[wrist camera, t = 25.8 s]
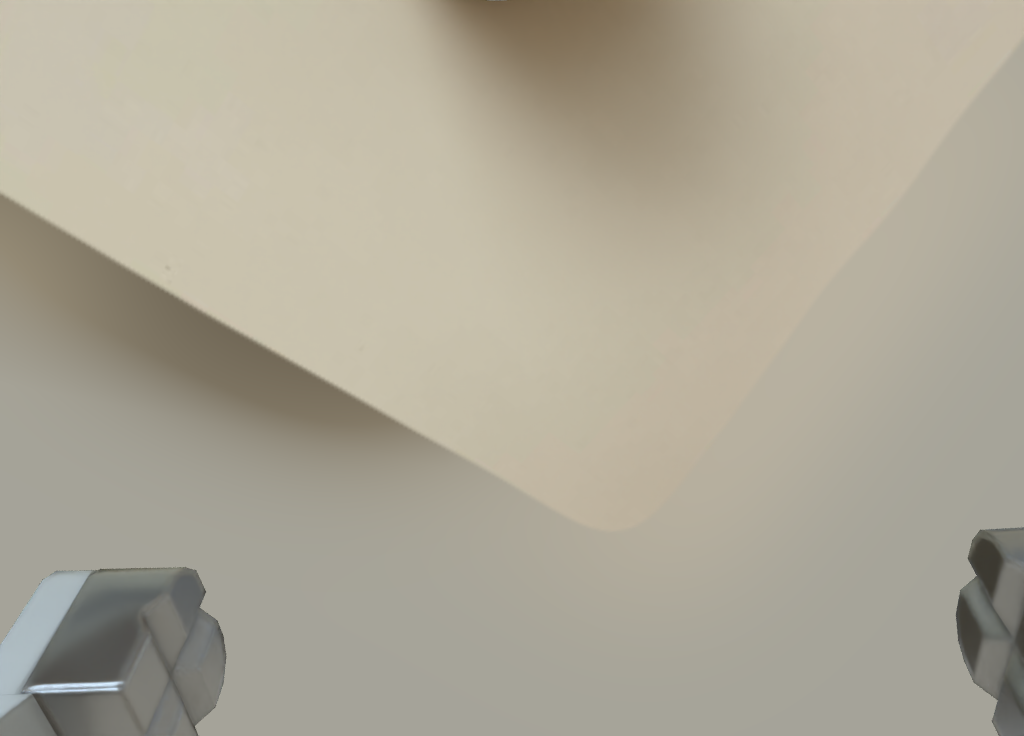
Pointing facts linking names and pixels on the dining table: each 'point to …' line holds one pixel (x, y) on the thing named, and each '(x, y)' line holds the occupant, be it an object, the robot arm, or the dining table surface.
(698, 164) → the dining table surface
